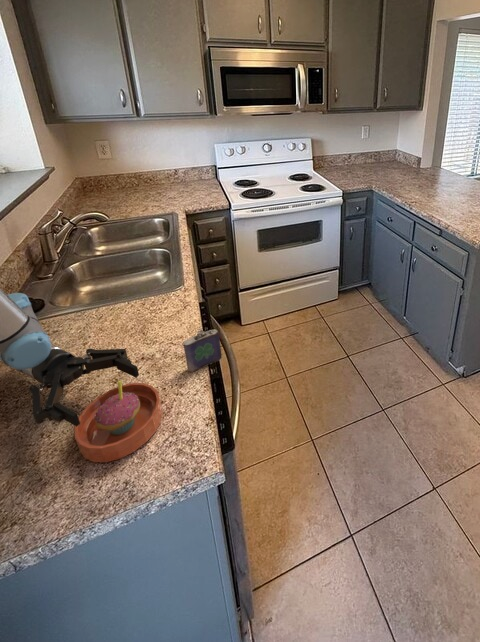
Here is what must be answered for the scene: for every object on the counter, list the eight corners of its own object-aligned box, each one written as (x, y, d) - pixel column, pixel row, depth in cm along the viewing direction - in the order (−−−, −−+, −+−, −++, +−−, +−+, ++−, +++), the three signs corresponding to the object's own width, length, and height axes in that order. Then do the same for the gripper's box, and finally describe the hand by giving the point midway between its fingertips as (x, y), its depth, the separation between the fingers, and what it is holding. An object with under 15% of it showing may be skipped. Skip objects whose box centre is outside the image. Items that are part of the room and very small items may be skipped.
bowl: (67, 474, 70) (61, 458, 68) (93, 406, 84) (89, 392, 83) (156, 451, 74) (152, 435, 72) (166, 390, 89) (163, 376, 87)
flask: (189, 374, 93) (183, 340, 90) (186, 367, 96) (180, 334, 92) (223, 358, 98) (218, 326, 95) (219, 352, 101) (215, 321, 97)
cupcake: (127, 404, 84) (116, 363, 80) (152, 417, 81) (142, 376, 77) (91, 434, 77) (77, 391, 73) (116, 451, 73) (103, 407, 69)
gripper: (103, 344, 97) (159, 367, 88) (-10, 419, 75) (51, 459, 67) (96, 321, 94) (154, 343, 86) (-22, 391, 73) (39, 430, 64)
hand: (109, 394), depth 76 cm, fingers open, 13 cm apart
